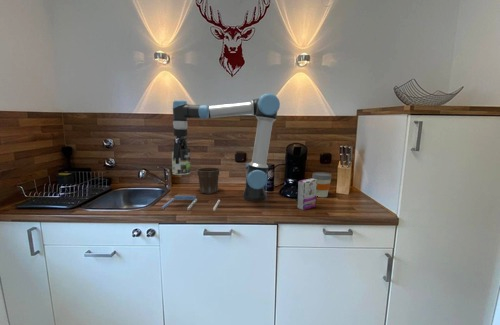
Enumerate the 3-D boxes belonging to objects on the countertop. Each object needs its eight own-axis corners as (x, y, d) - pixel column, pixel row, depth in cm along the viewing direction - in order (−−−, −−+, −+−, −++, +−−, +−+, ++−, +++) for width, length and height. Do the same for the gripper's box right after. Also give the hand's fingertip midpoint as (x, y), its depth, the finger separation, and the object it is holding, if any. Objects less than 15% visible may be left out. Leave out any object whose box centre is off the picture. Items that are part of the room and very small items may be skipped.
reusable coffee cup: (327, 199, 153) (329, 176, 151) (308, 196, 160) (309, 174, 157) (332, 194, 164) (333, 173, 161) (314, 191, 170) (315, 171, 168)
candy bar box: (309, 204, 143) (310, 178, 141) (316, 206, 139) (317, 179, 137) (296, 208, 137) (297, 180, 134) (303, 210, 133) (304, 182, 130)
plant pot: (194, 190, 171) (193, 168, 169) (215, 187, 179) (215, 166, 176) (200, 196, 157) (200, 172, 155) (223, 193, 165) (223, 170, 162)
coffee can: (193, 172, 141) (193, 148, 139) (185, 175, 131) (185, 150, 129) (177, 171, 143) (177, 147, 140) (168, 174, 133) (167, 149, 131)
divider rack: (220, 200, 149) (220, 196, 148) (214, 210, 131) (214, 206, 130) (173, 199, 150) (173, 195, 150) (161, 209, 133) (161, 204, 132)
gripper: (180, 128, 144) (181, 164, 148) (165, 129, 122) (167, 171, 125) (192, 128, 144) (193, 164, 147) (180, 129, 121) (181, 171, 125)
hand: (181, 167), depth 136 cm, fingers closed on coffee can, 10 cm apart
